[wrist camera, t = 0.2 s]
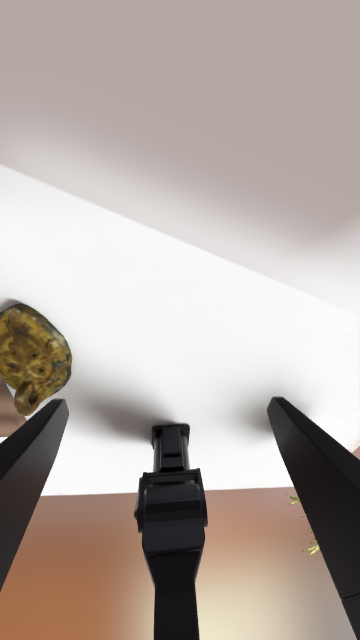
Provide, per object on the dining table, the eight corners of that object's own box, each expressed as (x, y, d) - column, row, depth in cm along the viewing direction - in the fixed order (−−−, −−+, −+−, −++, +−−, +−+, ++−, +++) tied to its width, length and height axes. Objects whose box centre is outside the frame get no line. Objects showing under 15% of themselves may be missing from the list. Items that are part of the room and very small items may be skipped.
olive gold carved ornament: (-20, 293, 21) (16, 388, 29) (-70, 312, 17) (-14, 418, 24) (65, 305, 22) (80, 397, 29) (36, 326, 18) (61, 427, 25)
